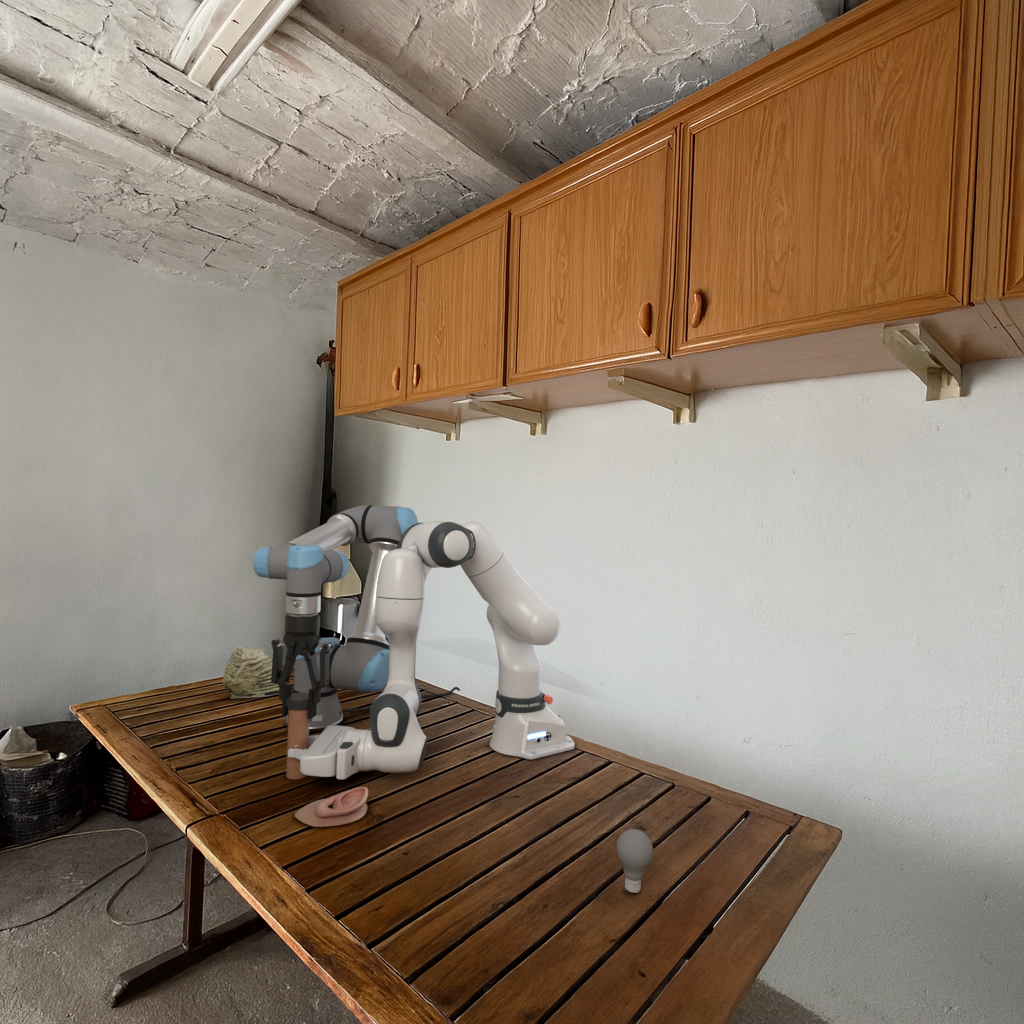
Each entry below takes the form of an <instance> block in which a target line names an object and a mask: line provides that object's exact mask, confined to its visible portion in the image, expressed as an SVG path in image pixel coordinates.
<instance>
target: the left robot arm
mask: <svg viewBox="0 0 1024 1024" xmlns="http://www.w3.org/2000/svg"><path fill="white" fill-rule="evenodd" d="M326 521H327V522H326V523H324V524H322V525H320V526H318V527H316V528H314V529H311V530H310V531H308V532H306V533H304V534H302V535H300V536H298V537H296V538H294V539H292V540H290V541H288V542H286V543H284V544H282V545H280V546H277V547H273V546H267V547H266V546H265V547H261V548H259V549H257V551H256V552H255V554H254V555H253V559H252V565H253V566H252V567H253V571H254V573H255V575H256V576H258V577H260V578H266V579H269V580H286V591H285V613H286V615H284V616H285V617H284V635H283V636H282V637H277V638H275V639H272V640H271V642H270V643H271V647H272V660H273V661H272V674H271V682H272V683H275V684H277V685H279V694H278V700H279V701H281V717H283V718H285V726H286V728H288V708H287V707H286V699H287V696H288V695H290V694H292V689H293V693H309V696H308V719H310V723H309V733H316V732H323V731H324V730H325V729H326V727H327V726H331V725H338V726H341V725H342V723H343V722H344V714H343V713H351V712H353V713H354V712H366V711H370V709H371V706H368V707H361V708H358V707H357V708H345V709H342V706H341V702H340V699H339V695H338V690H344V691H345V690H347V691H354V692H359V693H378V692H380V691H381V690H382V689H383V688H385V687H386V685H387V682H388V678H389V652H390V649H389V642H388V640H387V638H386V636H385V634H384V633H383V632H382V631H381V630H380V629H379V627H378V626H377V622H376V613H375V599H376V587H377V580H378V575H379V570H380V566H381V563H382V559H383V557H384V556H385V554H387V553H388V552H390V551H392V550H394V549H396V548H397V546H398V544H399V543H400V539H401V537H402V535H403V533H404V532H405V531H406V529H407V528H409V527H410V526H412V525H414V524H417V523H419V520H418V517H417V514H416V512H415V511H414V510H413V508H411V507H406V506H400V505H397V506H392V505H391V506H390V505H372V504H363V505H358V506H354V507H351V508H347V509H345V510H342V511H340V512H338V513H336V514H334V515H332V516H330V517H329V518H328V520H326ZM351 544H367V545H368V548H369V549H370V551H371V553H372V554H371V558H370V561H369V562H370V563H369V567H368V570H367V574H366V581H365V585H364V587H363V588H364V589H363V593H362V596H361V597H362V598H361V602H360V606H359V611H358V614H357V619H356V623H355V624H356V625H355V628H354V632H353V633H352V634H350V635H349V636H348V637H347V638H346V642H345V645H344V644H343V645H342V644H340V643H341V641H340V639H339V638H338V637H334V636H333V637H321V636H320V628H321V615H320V614H319V613H321V608H322V607H321V605H322V604H321V603H322V602H321V601H322V600H321V597H322V585H323V584H329V583H335V582H338V581H339V580H342V579H344V578H345V577H346V576H347V575H348V573H349V571H350V561H349V559H348V557H347V555H346V554H345V553H344V552H343V551H340V550H336V549H337V548H339V547H346V546H349V545H351ZM284 647H286V648H287V652H286V655H285V661H283V660H284ZM283 662H284V664H283ZM293 670H294V672H293ZM292 673H293V685H292V684H290V683H291V681H290V680H291V679H290V678H291V676H292ZM292 687H293V688H292ZM456 690H457V691H458V692H460V691H461V688H460V687H458V686H454V687H453V688H452V689H450V690H449V691H446V692H441V693H431V694H430V693H429V694H420V695H421V699H423V698H434V697H435V698H436V697H445V696H449V695H450V694H452V693H453V692H454V691H456Z"/></svg>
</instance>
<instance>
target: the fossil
mask: <svg viewBox="0 0 1024 1024" xmlns="http://www.w3.org/2000/svg"><path fill="white" fill-rule="evenodd" d="M272 661H273V658H271V657H270V656H269V655H268V654H267V653H266V652H265V650H264V649H263V648H260V647H258V648H251V647H247V646H246V647H245V646H238V647H237V648H236V649H235V650H233V651H232V653H231V656H230V657H229V659H228V660H227V663H226V666H225V668H224V671H223V675H222V676H223V677H222V685H223V687H224V688H225V690H226V691H228V693H229V698H230V699H250V698H264V697H271V696H275V695H279V685H277V684H275V683H272V682H271V674H272Z"/></svg>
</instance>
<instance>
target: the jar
mask: <svg viewBox="0 0 1024 1024" xmlns="http://www.w3.org/2000/svg"><path fill="white" fill-rule="evenodd" d="M309 723H310V719H308V708H306V709H298V710H295V709H289V708H288V727H287V735H286V762H285V763H286V765H285V777H286V778H287V780H301V779H304V778H306V777H307V776H308V775H304V774H302V773H301V772H300V760H299V759H297V758H293V757H288V750H289V749H290V748H291V747H298V749H301V750H304V749H308V748H309V747H310V746H309V736H310V732H309Z"/></svg>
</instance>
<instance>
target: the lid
mask: <svg viewBox="0 0 1024 1024" xmlns="http://www.w3.org/2000/svg"><path fill="white" fill-rule="evenodd" d="M308 696H309V693H294V692H293V693H291V694H290V695H288V696H287V699H286V707H287V708H289V709H295V710H298V709H306V708H308Z"/></svg>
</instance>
